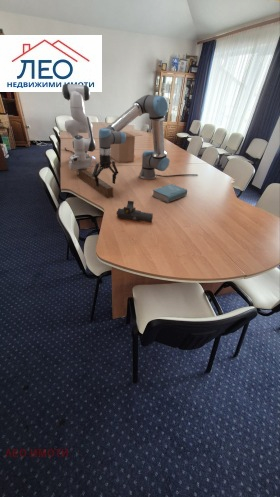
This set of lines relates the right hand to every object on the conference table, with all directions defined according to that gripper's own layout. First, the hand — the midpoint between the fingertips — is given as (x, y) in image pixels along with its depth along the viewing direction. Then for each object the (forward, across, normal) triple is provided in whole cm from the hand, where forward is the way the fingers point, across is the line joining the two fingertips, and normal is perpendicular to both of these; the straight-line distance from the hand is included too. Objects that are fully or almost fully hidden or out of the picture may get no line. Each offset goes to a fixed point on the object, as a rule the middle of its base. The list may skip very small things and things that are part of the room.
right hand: (105, 184), depth 163 cm
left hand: (+5, 0, -44) cm, 45 cm away
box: (+7, -65, -82) cm, 105 cm away
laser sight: (+8, +3, +43) cm, 44 cm away
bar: (+8, 0, -22) cm, 23 cm away
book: (+7, -42, +25) cm, 50 cm away
